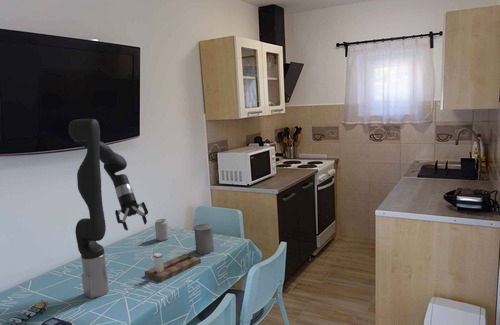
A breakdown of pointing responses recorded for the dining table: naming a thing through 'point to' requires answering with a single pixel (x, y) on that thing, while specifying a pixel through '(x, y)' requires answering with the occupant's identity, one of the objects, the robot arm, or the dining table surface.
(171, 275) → the fader console
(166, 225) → the can
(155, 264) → the fader tab
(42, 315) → the dining table surface
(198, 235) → the pillar candle
